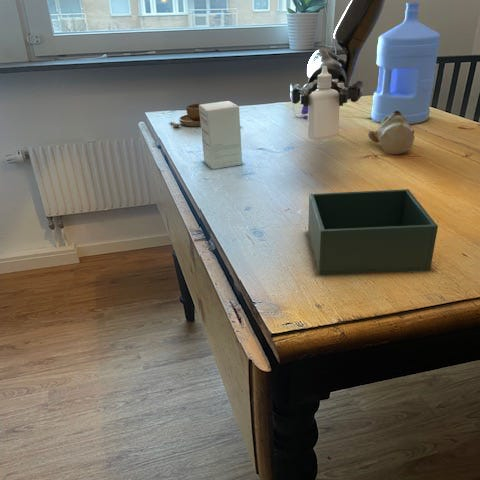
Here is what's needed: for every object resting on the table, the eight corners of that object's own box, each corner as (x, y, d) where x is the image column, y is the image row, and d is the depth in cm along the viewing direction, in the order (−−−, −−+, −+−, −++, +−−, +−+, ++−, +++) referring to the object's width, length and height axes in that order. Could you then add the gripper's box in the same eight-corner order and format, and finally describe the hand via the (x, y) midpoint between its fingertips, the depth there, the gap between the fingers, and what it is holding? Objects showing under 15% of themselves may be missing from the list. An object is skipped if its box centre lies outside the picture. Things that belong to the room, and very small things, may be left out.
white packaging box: (233, 157, 119) (229, 100, 112) (242, 165, 113) (239, 105, 106) (203, 161, 118) (197, 103, 111) (211, 170, 112) (206, 109, 105)
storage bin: (402, 229, 80) (408, 189, 77) (430, 270, 69) (438, 226, 65) (308, 233, 81) (309, 193, 77) (318, 275, 69) (320, 231, 66)
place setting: (221, 115, 158) (219, 95, 155) (243, 128, 143) (242, 106, 139) (167, 122, 154) (164, 102, 150) (184, 136, 138) (181, 114, 135)
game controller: (291, 102, 151) (324, 93, 150) (297, 130, 153) (329, 121, 152) (291, 97, 142) (326, 87, 140) (297, 127, 144) (332, 118, 142)
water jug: (398, 110, 151) (411, 1, 135) (440, 119, 139) (459, 0, 124) (359, 119, 145) (368, 5, 129) (399, 128, 133) (414, 4, 118)
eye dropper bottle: (338, 140, 91) (341, 67, 85) (307, 141, 92) (307, 69, 86) (338, 134, 95) (341, 63, 88) (308, 135, 96) (309, 65, 89)
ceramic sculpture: (376, 116, 108) (368, 106, 121) (372, 157, 112) (365, 143, 125) (427, 115, 107) (414, 105, 120) (421, 156, 111) (409, 143, 124)
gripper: (291, 64, 101) (282, 78, 87) (365, 61, 98) (367, 74, 84) (291, 104, 105) (282, 123, 91) (362, 102, 102) (364, 121, 88)
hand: (323, 100), depth 88 cm, fingers closed on eye dropper bottle, 5 cm apart
